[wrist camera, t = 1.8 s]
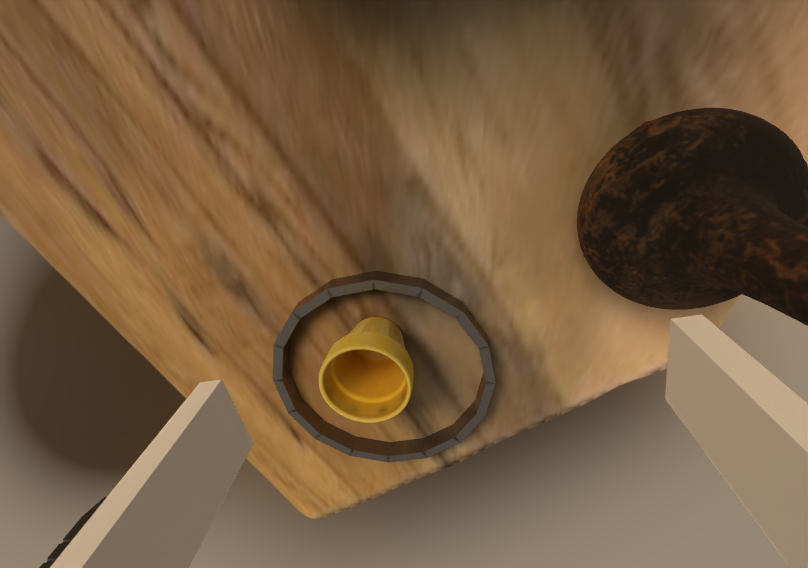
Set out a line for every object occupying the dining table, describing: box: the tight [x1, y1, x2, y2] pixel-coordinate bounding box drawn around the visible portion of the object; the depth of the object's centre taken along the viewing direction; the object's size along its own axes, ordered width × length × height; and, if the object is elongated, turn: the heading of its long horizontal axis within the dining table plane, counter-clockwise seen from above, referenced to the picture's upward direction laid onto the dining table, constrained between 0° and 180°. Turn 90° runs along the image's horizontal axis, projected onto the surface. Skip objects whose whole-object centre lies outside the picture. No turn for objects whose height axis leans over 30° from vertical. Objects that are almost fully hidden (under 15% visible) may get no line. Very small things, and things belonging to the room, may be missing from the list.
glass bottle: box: [577, 108, 808, 325], centre depth 30 cm, size 18×18×28 cm
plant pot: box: [319, 317, 414, 423], centre depth 48 cm, size 10×10×10 cm
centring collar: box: [273, 271, 496, 462], centre depth 53 cm, size 28×28×2 cm
